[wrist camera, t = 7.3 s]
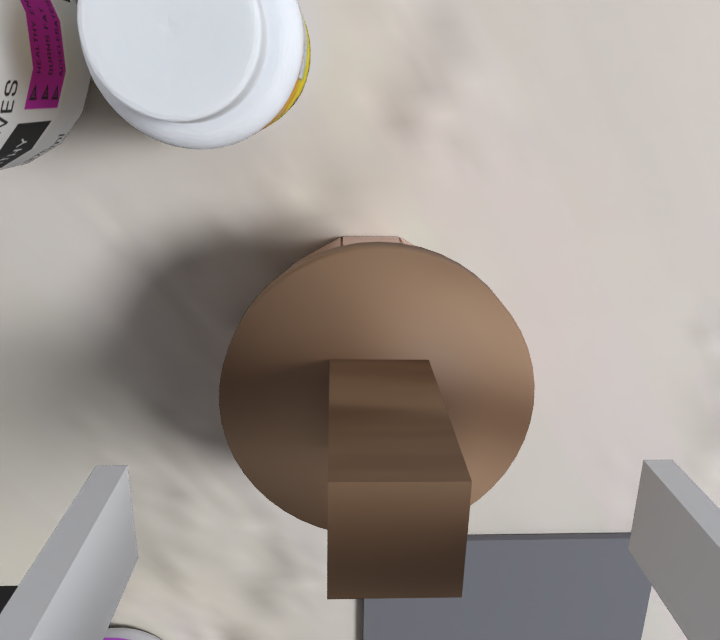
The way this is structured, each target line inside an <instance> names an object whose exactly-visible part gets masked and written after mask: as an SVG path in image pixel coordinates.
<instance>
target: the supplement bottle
mask: <svg viewBox="0 0 720 640" xmlns="http://www.w3.org/2000/svg"><path fill="white" fill-rule="evenodd" d="M77 25H78V32H79V36H80V42H81V46H82V51H83V55H84V58H85V61H86V64H87V66H88V69H89V71H90V74H91V76H92V78H93V80H94V82H95V84H96V85H97V87H98V89H99V90H100V92H101V93H102V95H103V96H104V98H105V99H106V100H107V101H108V103H109V104H110V105H111V106H112V107H113V109H114V110H115V111H116V112H117V113H118V114H119V115H120V116H121V117H122V118H123V119H125V120H126V121H127V122H128V123H129V124H131V125H132V126H133V127H135V128H136V129H138V130H139V131H141V132H142V133H144V134H146V135H148V136H150V137H152V138H154V139H156V140H158V141H161V142H164V143H166V144H170V145H173V146H177V147H183V148H189V149H212V148H220V147H224V146H228V145H231V144H235V143H237V142H240V141H242V140H245V139H247V138H249V137H250V136H252V135H254V134H256V133H257V132H259V131H261V130H262V129H264V128H266V127H267V126H269V125H271V124H272V123H274V122H275V121H277V120H278V119H280V118H281V117H282V116H283V115H284V114H285V113H286V112H287V111H288V110H289V109H290V108H291V107H292V106H293V105H294V104H295V102H296V101H297V99H298V98H299V96H300V94H301V93H302V90H303V88H304V85H305V83H306V80H307V76H308V72H309V66H310V40H309V35H308V30H307V26H306V24H305V21H304V18H303V15H302V12H301V9H300V6H299V3H298V0H78V3H77Z"/></svg>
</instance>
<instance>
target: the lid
mask: <svg viewBox="0 0 720 640" xmlns="http://www.w3.org/2000/svg"><path fill="white" fill-rule="evenodd" d="M533 405H534V376H533V367H532V363H531V359H530V355H529V351H528V347H527V345H526V343H525V340H524V338H523V335H522V333H521V331H520V329H519V327H518V326H517V324H516V322H515V321H514V319H513V317H512V316H511V314H510V313H509V311H508V310H507V309H506V308H505V306H504V305H503V304H502V303H501V301H500V300H499V299H498V298H497V296H496V295H495V294H494V293H493V292H492V290H491V289H490V288H489V287H488V286H487V285H486V284H485V283H484V282H483V281H482V280H480V279H479V278H478V277H477V276H476V275H475V274H474V273H472V272H471V271H469V270H468V269H466V268H465V267H464V266H462V265H461V264H459V263H457V262H455V261H453V260H451V259H449V258H447V257H446V256H444V255H442V254H439V253H436V252H433V251H430V250H428V249H425V248H422V247H417V246H413V245H408V244H403V243H393V242H363V243H355V244H349V245H344V246H338V247H335V248H332V249H329V250H326V251H323V252H320V253H317V254H315V255H313V256H311V257H309V258H307V259H304V260H302V261H300V262H298V263H297V264H295V265H294V266H292V267H291V268H289V269H287V270H286V271H284V272H283V273H281V274H280V275H279V276H278V277H277V278H276V279H274V280H273V281H272V282H271V283H270V284H269V285H267V286H266V287H265V288H264V290H263V291H262V292H261V293H260V294H259V295H258V296H257V297H256V299H255V300H254V301H253V302H252V304H251V305H250V307H249V308H248V310H247V311H246V313H245V314H244V316H243V317H242V319H241V321H240V323H239V325H238V327H237V329H236V331H235V334H234V336H233V338H232V341H231V343H230V346H229V348H228V351H227V354H226V357H225V361H224V364H223V367H222V374H221V380H220V389H219V406H220V414H221V421H222V426H223V429H224V433H225V436H226V440H227V442H228V445H229V447H230V449H231V451H232V454H233V456H234V458H235V460H236V461H237V463H238V465H239V466H240V468H241V469H242V471H243V473H244V474H245V475H246V476H247V478H248V479H249V480H250V481H251V482H252V484H253V485H254V486H255V487H256V488H257V489H258V490H259V491H260V492H261V493H262V494H263V495H264V496H265V497H266V498H267V499H269V500H270V501H271V502H273V503H274V504H275V505H277V506H278V507H279V508H281V509H282V510H284V511H285V512H287V513H289V514H291V515H293V516H294V517H296V518H298V519H300V520H302V521H304V522H307V523H309V524H312V525H314V526H317V527H320V528H323V529H327V530H328V555H327V599H385V598H462V591H463V579H464V568H465V556H466V545H467V534H468V522H469V511H470V505H472V504H473V503H474V502H476V501H477V500H479V499H480V498H481V497H482V496H483V495H484V494H485V493H487V492H488V491H489V490H490V489H491V488H492V487H493V486H494V485H495V484H496V483H497V482H498V480H499V479H500V478H501V477H502V476H503V475H504V473H505V472H506V471H507V469H508V468H509V466H510V465H511V463H512V462H513V460H514V459H515V457H516V456H517V454H518V452H519V450H520V448H521V446H522V444H523V442H524V439H525V436H526V433H527V430H528V427H529V424H530V421H531V416H532V410H533Z"/></svg>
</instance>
